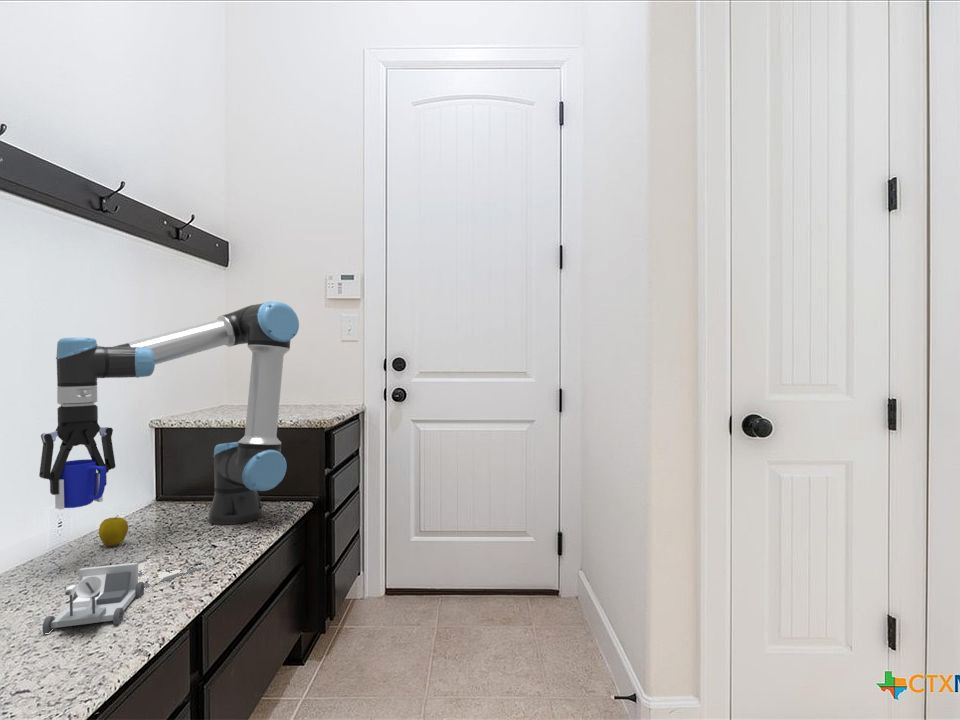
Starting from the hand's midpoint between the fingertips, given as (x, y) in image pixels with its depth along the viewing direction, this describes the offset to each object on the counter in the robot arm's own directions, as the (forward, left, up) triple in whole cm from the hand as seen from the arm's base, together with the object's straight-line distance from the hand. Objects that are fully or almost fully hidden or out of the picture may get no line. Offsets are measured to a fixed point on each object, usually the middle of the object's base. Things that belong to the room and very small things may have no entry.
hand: (79, 504), depth 129 cm
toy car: (+9, +30, -15) cm, 35 cm away
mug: (-1, 0, -1) cm, 1 cm away
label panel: (-8, +16, -15) cm, 23 cm away
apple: (-12, -12, -15) cm, 23 cm away
